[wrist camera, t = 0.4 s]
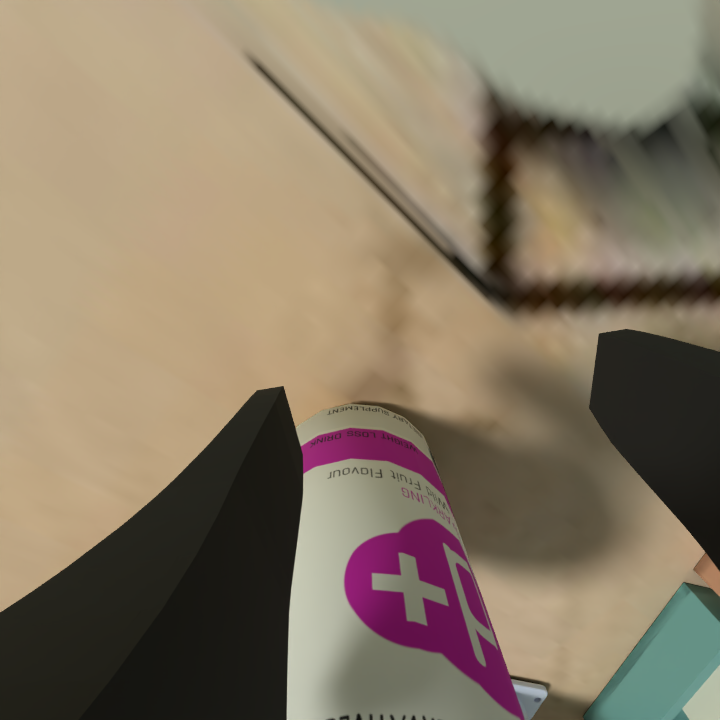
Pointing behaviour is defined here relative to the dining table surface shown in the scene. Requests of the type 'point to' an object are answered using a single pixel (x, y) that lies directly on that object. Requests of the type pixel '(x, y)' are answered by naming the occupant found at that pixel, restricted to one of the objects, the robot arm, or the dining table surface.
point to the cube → (705, 700)
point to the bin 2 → (709, 573)
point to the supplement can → (385, 584)
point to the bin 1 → (666, 661)
